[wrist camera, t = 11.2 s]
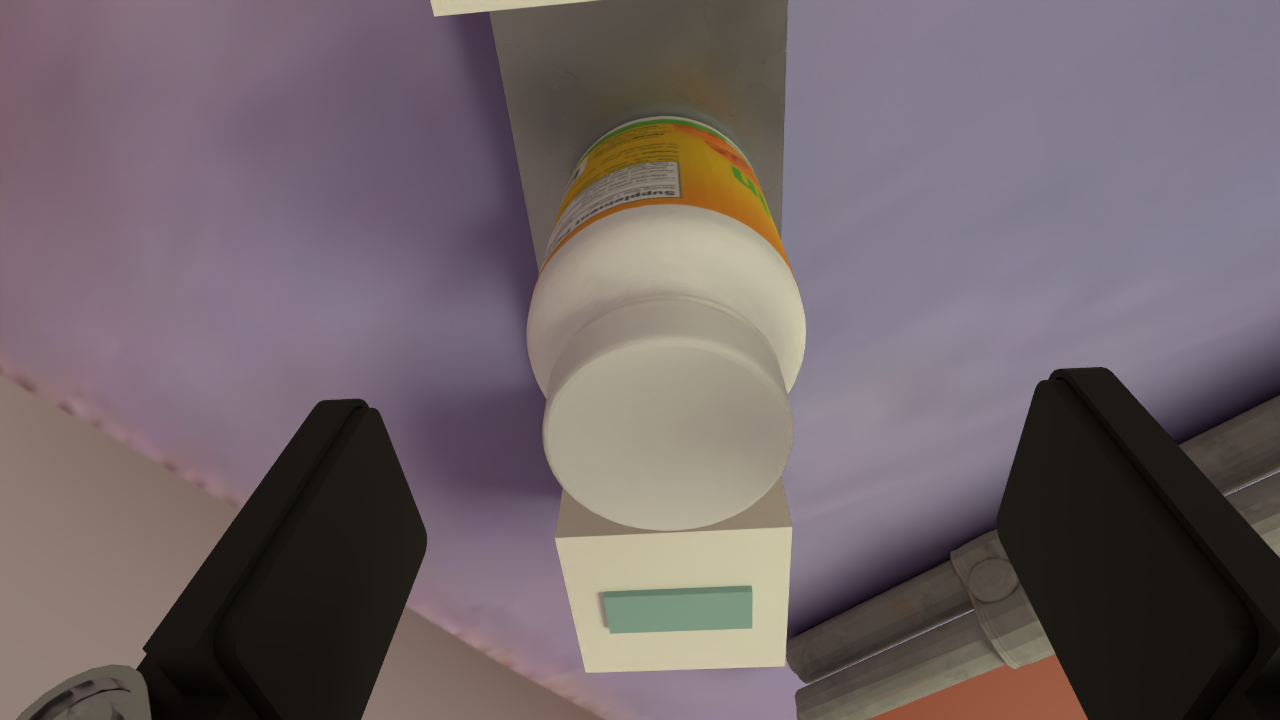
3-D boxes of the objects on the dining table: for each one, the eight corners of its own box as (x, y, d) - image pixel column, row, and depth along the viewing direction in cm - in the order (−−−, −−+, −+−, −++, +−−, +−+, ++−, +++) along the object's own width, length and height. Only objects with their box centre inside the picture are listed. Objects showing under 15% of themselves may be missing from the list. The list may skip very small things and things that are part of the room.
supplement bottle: (783, 262, 19) (873, 517, 11) (610, 320, 21) (582, 588, 13) (726, 77, 17) (794, 241, 9) (531, 156, 18) (429, 364, 10)
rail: (788, -416, 13) (800, -443, 12) (768, 492, 26) (773, 515, 25) (430, -367, 13) (412, -389, 12) (589, 501, 27) (586, 524, 26)
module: (761, 385, 22) (793, 533, 17) (759, 516, 25) (786, 672, 20) (577, 396, 22) (553, 544, 17) (599, 523, 26) (585, 678, 20)
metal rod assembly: (1428, 289, 21) (1617, 383, 17) (1447, 345, 22) (1629, 445, 18) (768, 626, 31) (785, 735, 27) (803, 652, 32) (825, 762, 28)
